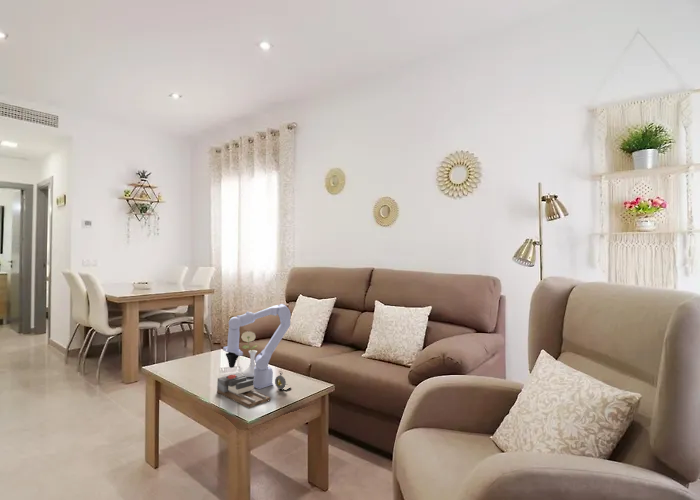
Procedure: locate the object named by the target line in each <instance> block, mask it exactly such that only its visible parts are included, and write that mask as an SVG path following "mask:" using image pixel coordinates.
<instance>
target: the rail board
mask: <svg viewBox="0 0 700 500" xmlns="http://www.w3.org/2000/svg"><path fill="white" fill-rule="evenodd" d="M232 375H236V377H235V378H233V379H229V378H228V375H224V376H222V377H217V382H216V383H217V386H216V393H218V394H220V395H221V396H223V397H225V398H227V399H230V400H232V401H235V402H236V403H238V404H241V405H242V406H244V407H247V408H248V407H249V408H252V407H255V406H258V405H260V403H261V404H264V403H267V402H269V401H268V400H270V401H271V396H268V395H266V394H263V393H261V392H259V391H257V390H254V389H253V390H250V391H247V392H243V393H240V394H236V393H234V392H232V391H230V390H228V386H229V381H230V380H234V379H238V378H241V377H246V376H245V375H242V373H240V372H237V373H233V374H232ZM266 401H267V402H266ZM263 402H264V403H263Z"/></svg>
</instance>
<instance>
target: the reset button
mask: <svg viewBox="0 0 700 500" xmlns="http://www.w3.org/2000/svg"><path fill="white" fill-rule="evenodd" d="M227 376H228V378H229V379H233V378H235V377H236V375H233V374H229V375H227Z"/></svg>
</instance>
